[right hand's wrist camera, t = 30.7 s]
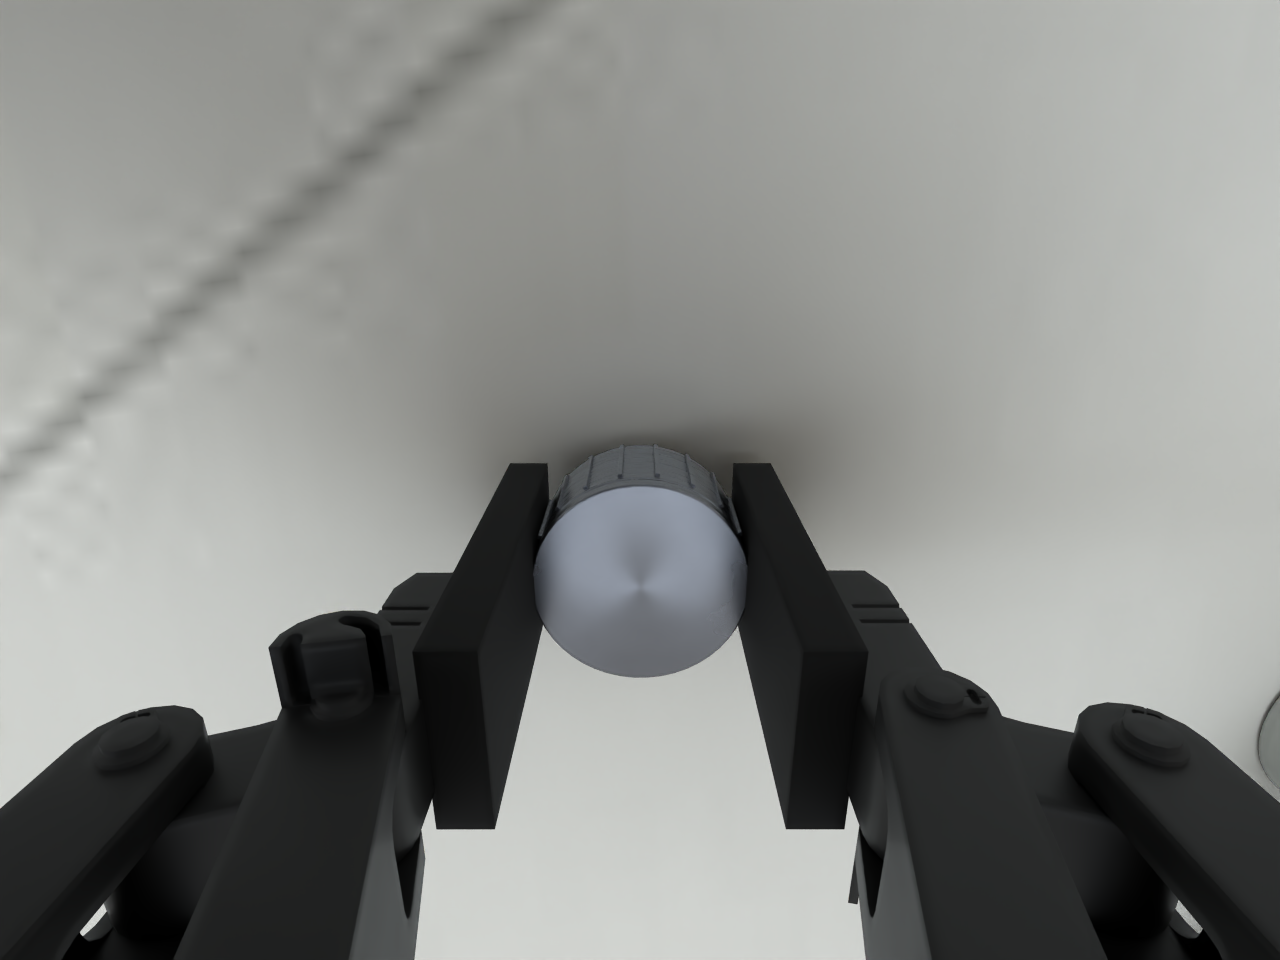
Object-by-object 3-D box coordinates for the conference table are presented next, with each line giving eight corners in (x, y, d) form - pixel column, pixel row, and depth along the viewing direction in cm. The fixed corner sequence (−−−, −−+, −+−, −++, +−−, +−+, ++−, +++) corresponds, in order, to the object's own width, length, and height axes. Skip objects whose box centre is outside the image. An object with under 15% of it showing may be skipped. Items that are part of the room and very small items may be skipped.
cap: (542, 611, 15) (526, 675, 13) (545, 434, 14) (528, 474, 12) (725, 621, 15) (739, 686, 13) (747, 447, 14) (766, 488, 12)
